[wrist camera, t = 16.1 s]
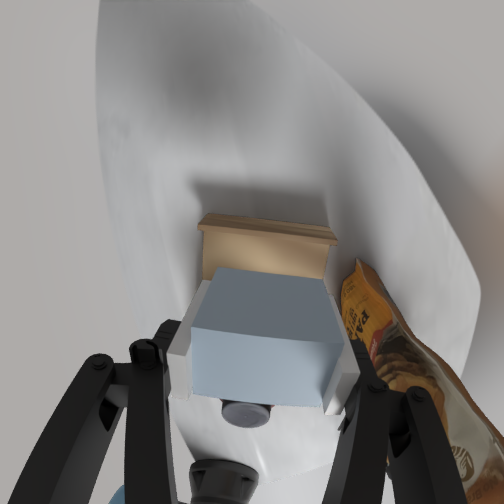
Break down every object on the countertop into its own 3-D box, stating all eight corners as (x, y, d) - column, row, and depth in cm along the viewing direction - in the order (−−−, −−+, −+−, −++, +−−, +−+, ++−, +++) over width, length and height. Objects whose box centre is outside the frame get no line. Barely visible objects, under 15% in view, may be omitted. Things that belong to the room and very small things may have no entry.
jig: (298, 364, 34) (300, 387, 30) (204, 353, 34) (197, 375, 31) (329, 227, 27) (337, 240, 24) (208, 213, 28) (197, 224, 24)
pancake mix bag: (394, 239, 27) (576, 470, 1) (384, 370, 34) (438, 554, 8) (334, 247, 28) (454, 561, 2) (338, 379, 35) (366, 577, 9)
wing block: (309, 335, 17) (320, 407, 12) (214, 324, 18) (192, 394, 12) (322, 279, 16) (344, 343, 10) (217, 266, 16) (190, 326, 11)
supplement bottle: (236, 306, 30) (218, 385, 19) (290, 322, 30) (294, 403, 19) (222, 346, 32) (203, 424, 21) (271, 360, 32) (268, 439, 22)
